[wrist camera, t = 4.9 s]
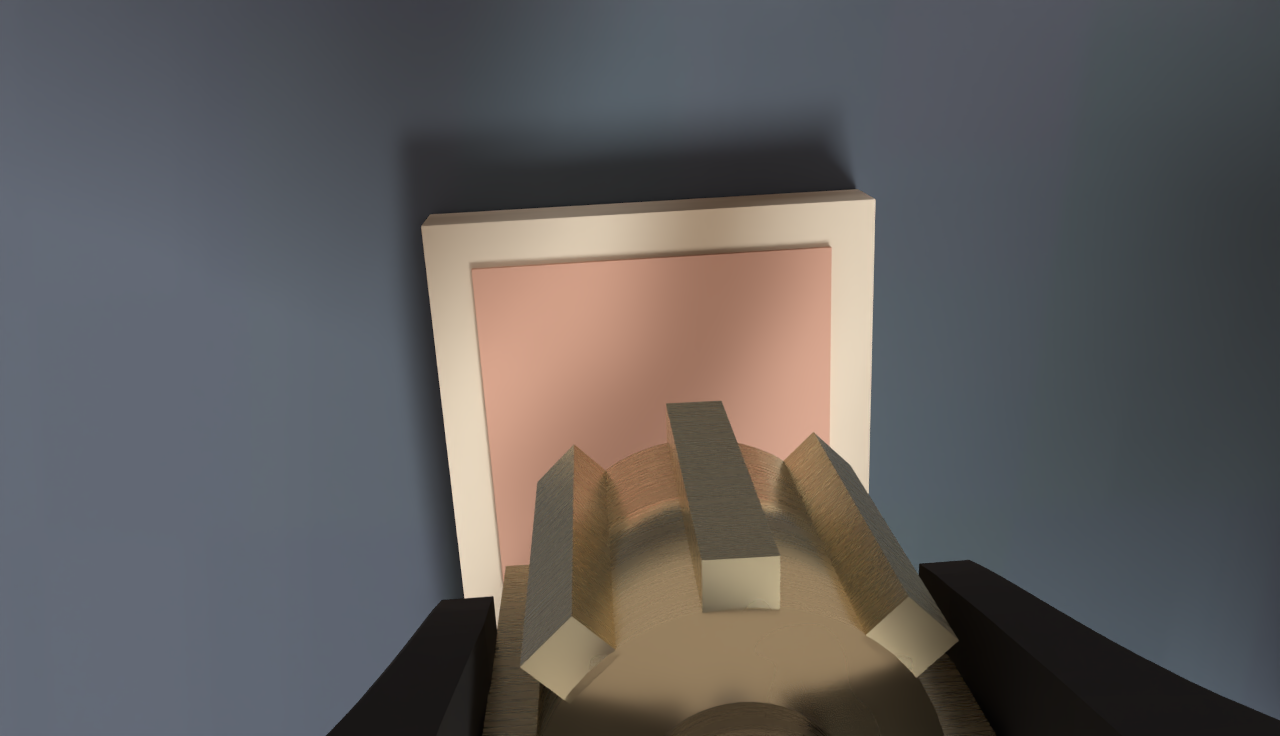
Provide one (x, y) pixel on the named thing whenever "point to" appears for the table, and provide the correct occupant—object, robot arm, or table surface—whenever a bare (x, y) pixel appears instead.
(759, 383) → the plate
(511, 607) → the planet gear
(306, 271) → the table surface
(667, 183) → the table surface
